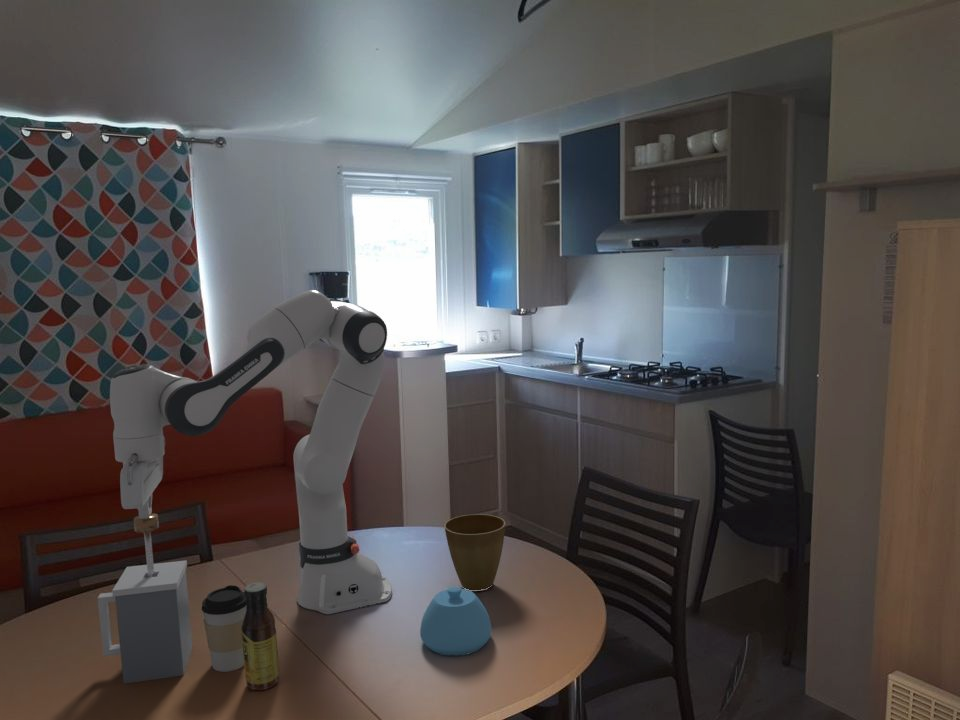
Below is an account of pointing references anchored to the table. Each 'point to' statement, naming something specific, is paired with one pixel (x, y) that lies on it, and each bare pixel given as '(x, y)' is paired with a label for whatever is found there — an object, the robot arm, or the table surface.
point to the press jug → (149, 622)
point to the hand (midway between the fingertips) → (145, 516)
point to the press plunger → (147, 537)
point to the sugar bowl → (455, 623)
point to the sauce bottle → (259, 640)
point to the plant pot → (475, 548)
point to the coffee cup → (225, 627)
